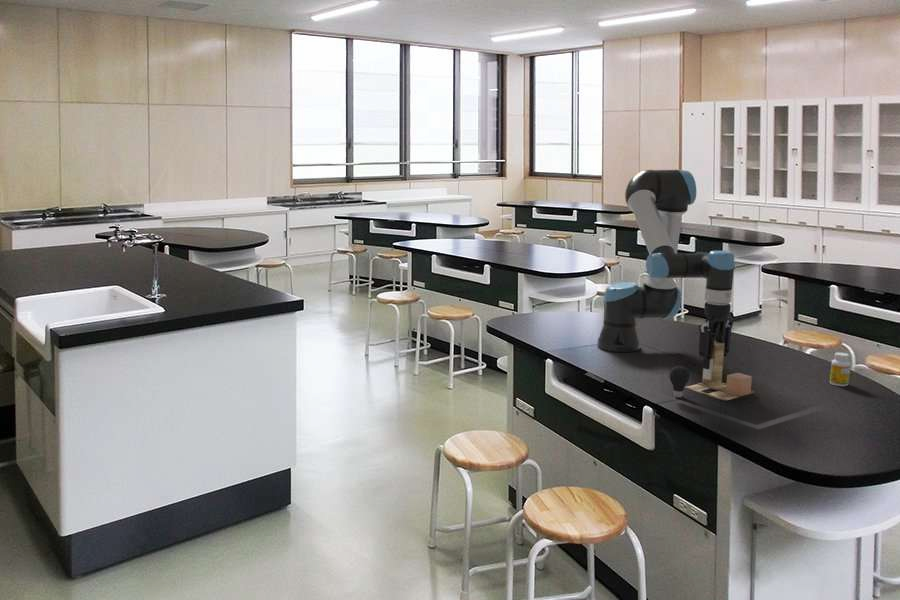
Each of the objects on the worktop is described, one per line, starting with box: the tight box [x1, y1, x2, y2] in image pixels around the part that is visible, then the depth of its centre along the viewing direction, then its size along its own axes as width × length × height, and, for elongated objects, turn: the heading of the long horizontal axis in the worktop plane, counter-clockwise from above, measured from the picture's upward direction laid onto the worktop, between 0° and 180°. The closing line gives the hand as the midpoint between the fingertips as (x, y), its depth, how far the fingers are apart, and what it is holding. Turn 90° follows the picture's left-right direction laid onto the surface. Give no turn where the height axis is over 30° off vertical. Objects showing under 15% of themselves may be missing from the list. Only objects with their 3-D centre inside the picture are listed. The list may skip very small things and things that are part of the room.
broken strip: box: [686, 383, 738, 401], centre depth 244 cm, size 15×5×1 cm, turn 35°
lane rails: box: [684, 382, 755, 402], centre depth 246 cm, size 15×14×1 cm
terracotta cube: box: [726, 372, 753, 397], centre depth 244 cm, size 5×5×5 cm
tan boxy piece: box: [700, 341, 753, 397], centre depth 246 cm, size 15×5×14 cm, turn 35°
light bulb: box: [669, 365, 690, 400], centre depth 239 cm, size 6×6×10 cm
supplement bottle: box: [829, 352, 851, 387], centre depth 256 cm, size 5×5×10 cm
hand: (712, 377), depth 251 cm, fingers closed on tan boxy piece, 4 cm apart
